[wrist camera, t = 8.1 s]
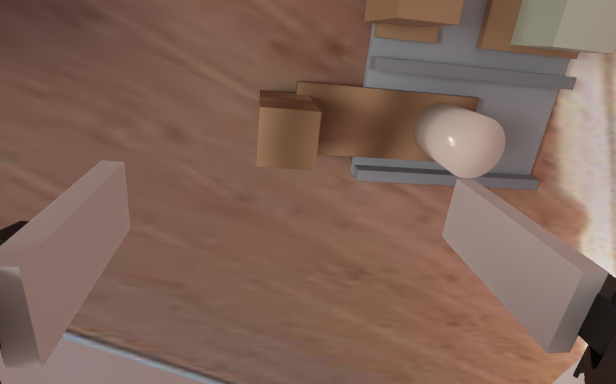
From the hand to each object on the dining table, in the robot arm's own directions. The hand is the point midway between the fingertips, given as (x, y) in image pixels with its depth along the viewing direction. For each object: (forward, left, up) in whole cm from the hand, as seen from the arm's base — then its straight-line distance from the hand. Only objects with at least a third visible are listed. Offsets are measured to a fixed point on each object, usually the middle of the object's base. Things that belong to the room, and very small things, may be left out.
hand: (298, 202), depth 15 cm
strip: (+8, 0, -19) cm, 20 cm away
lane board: (+16, +5, -20) cm, 26 cm away
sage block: (+21, +10, -18) cm, 29 cm away
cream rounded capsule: (+14, 0, -18) cm, 23 cm away
